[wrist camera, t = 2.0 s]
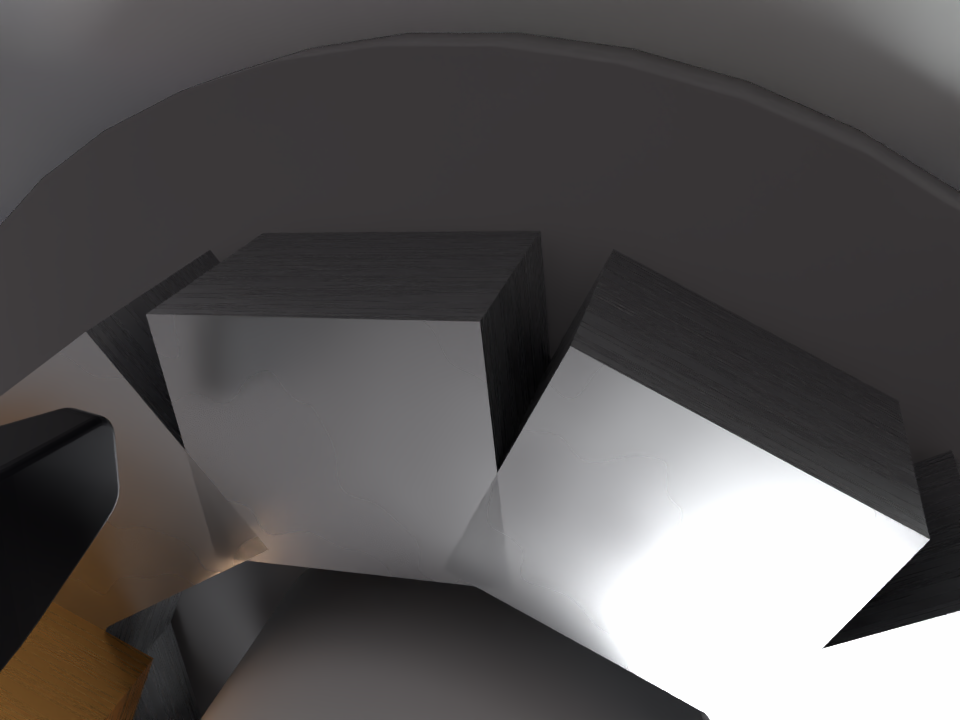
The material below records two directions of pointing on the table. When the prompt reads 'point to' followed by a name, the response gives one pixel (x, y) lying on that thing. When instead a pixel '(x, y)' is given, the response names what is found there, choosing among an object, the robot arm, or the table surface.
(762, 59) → the table surface
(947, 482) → the grey toothed bowl
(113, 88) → the table surface
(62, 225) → the cap base
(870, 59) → the table surface
